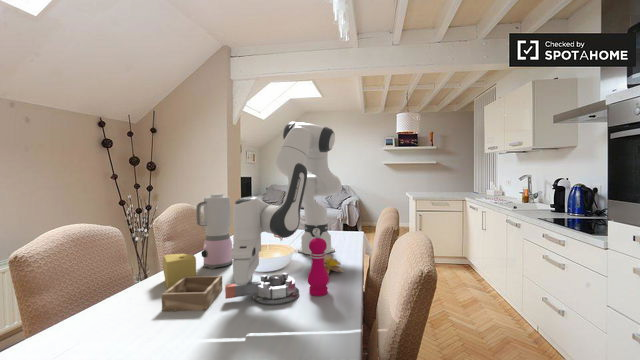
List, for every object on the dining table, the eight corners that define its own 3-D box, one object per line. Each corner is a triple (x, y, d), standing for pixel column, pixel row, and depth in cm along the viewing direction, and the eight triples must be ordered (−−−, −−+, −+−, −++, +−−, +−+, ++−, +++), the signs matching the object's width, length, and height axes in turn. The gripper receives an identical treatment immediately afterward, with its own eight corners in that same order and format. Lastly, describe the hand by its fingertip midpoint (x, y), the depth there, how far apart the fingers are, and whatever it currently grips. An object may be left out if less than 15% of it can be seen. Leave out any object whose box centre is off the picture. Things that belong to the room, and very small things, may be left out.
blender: (223, 260, 136) (222, 193, 136) (238, 265, 128) (237, 193, 128) (190, 268, 124) (189, 195, 124) (204, 274, 116) (203, 195, 116)
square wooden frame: (184, 290, 99) (184, 276, 99) (222, 290, 100) (222, 275, 100) (162, 311, 84) (161, 294, 84) (206, 310, 85) (206, 293, 85)
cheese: (192, 275, 115) (191, 251, 115) (197, 283, 106) (197, 257, 106) (163, 281, 109) (162, 255, 109) (165, 290, 100) (165, 262, 100)
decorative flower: (344, 279, 109) (344, 253, 109) (315, 279, 109) (314, 253, 109) (342, 266, 124) (342, 243, 124) (316, 267, 124) (316, 244, 124)
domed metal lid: (258, 287, 102) (257, 270, 102) (300, 286, 102) (299, 269, 102) (248, 306, 87) (248, 286, 87) (297, 304, 87) (297, 285, 87)
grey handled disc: (290, 282, 102) (290, 270, 102) (298, 295, 91) (297, 282, 91) (225, 290, 96) (225, 277, 96) (225, 305, 84) (224, 291, 84)
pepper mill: (327, 297, 92) (326, 236, 92) (305, 296, 94) (304, 235, 94) (330, 289, 99) (330, 231, 99) (310, 287, 101) (309, 231, 101)
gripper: (245, 239, 104) (246, 277, 105) (228, 255, 84) (230, 301, 84) (262, 238, 104) (263, 276, 105) (250, 254, 84) (251, 301, 84)
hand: (248, 288), depth 94 cm, fingers closed
